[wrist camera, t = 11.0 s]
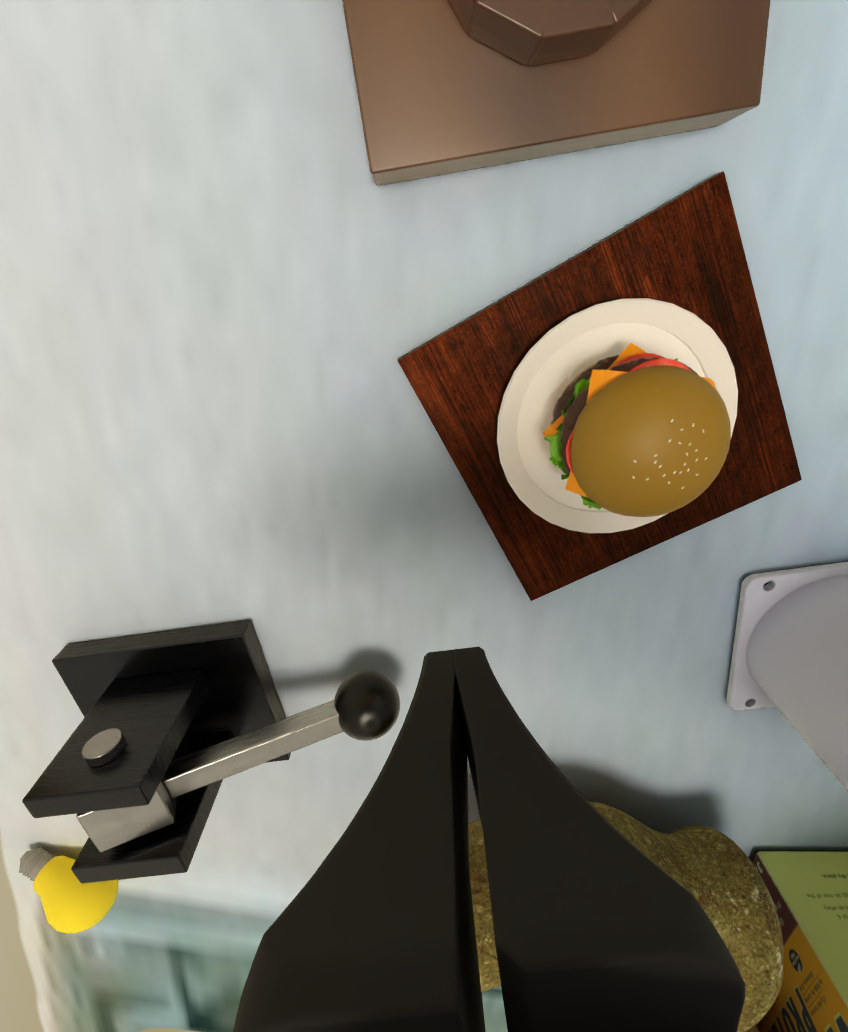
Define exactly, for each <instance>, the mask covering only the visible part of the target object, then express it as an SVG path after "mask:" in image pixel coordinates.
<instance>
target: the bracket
mask: <svg viewBox="0 0 848 1032" xmlns="http://www.w3.org/2000/svg"><path fill="white" fill-rule="evenodd" d="M52 662H53V664H54V665H55V667H56V669H57V671H58V672H59V674H60V676H61V677H62V679H63V681H64V683H65V684H66V686H67V688H68V689H69V691H70V693H71V695H72V696H73V698H74V700H75V701H76V703H77V705H78V707H79V708H80V710H81V712H82V714H83V715H84V717H85V718H84V719H83V721H82V722H81V723H80V725H79V726H78V727H77V729H76V730H75V731H74V733H73V734H72V735H71V737H70V738H69V739H68V740H67V742H66V743H65V744H64V746H63V747H62V748H61V750H60V751H59V752H58V754H57V755H56V756H55V758H54V759H53V760H52V762H51V763H50V764H49V766H48V767H47V768H46V770H45V771H44V772H43V774H42V775H41V776H40V778H39V779H38V780H37V782H36V783H35V784H34V785H33V787H32V788H31V789H30V791H29V792H28V793H27V795H26V796H25V797H24V799H23V801H22V802H23V803H24V805H25V806H26V808H27V809H28V810H29V812H30V813H31V815H32V816H33V817H34V818H41V817H49V816H58V815H67V814H75V813H84V812H93V811H101V810H110V809H118V808H127V807H136V806H144V805H148V804H149V803H150V801H151V800H152V798H153V796H154V794H155V792H156V790H157V788H158V786H159V784H160V782H161V780H162V778H163V776H164V774H165V772H166V770H167V768H168V766H169V764H170V762H171V761H173V760H175V759H178V758H181V757H183V756H186V755H189V754H191V753H194V752H197V751H199V750H202V749H205V748H207V747H210V746H213V745H215V744H218V743H221V742H223V741H226V740H229V739H231V738H234V737H237V736H239V735H242V734H245V733H247V732H250V731H253V730H255V729H258V728H261V727H263V726H266V725H269V724H271V723H274V722H277V721H279V720H282V719H285V715H284V712H283V709H282V707H281V704H280V701H279V698H278V696H277V693H276V690H275V687H274V684H273V682H272V679H271V676H270V673H269V670H268V668H267V665H266V662H265V659H264V656H263V654H262V651H261V648H260V645H259V642H258V640H257V637H256V634H255V631H254V629H253V626H252V623H251V620H245V621H237V622H230V623H222V624H215V625H208V626H200V627H193V628H185V629H178V630H170V631H163V632H155V633H148V634H140V635H133V636H125V637H118V638H110V639H103V640H95V641H88V642H80V643H73V644H67V645H66V646H65V647H64V648H63V649H62V650H61V652H60V653H59V654H58V655H57V656H56V657H55V658H54V659H53V660H52ZM290 754H291V752H290V753H287V754H285V755H282V756H280V757H277V758H275V759H272V760H270V761H267V762H273V761H282V760H289V757H290ZM264 763H265V762H264ZM222 780H223V779H221V780H219V781H216V782H214V783H211V784H208V785H206V786H203V787H201V788H198V789H196V790H193V791H191V792H188V793H186V794H183V795H181V796H178V797H177V803H176V814H175V822H174V823H173V824H170V825H168V826H166V827H163V828H161V829H158V830H156V831H153V832H151V833H148V834H146V835H143V836H141V837H138V838H136V839H133V840H131V841H128V842H126V843H124V844H121V845H119V846H116V847H114V848H111V849H109V850H106V851H104V852H99V851H98V849H97V848H96V846H95V845H94V843H93V842H92V840H91V839H90V837H89V838H88V840H87V842H86V843H85V845H84V847H83V849H82V850H81V852H80V854H79V855H78V857H77V859H76V861H75V862H74V864H73V866H72V867H71V870H72V872H73V873H74V875H75V876H76V877H77V879H78V880H79V882H80V883H82V884H83V883H92V882H101V881H110V880H120V879H129V878H138V877H147V876H156V875H166V874H175V873H184V872H187V870H188V868H189V865H190V863H191V860H192V858H193V855H194V852H195V850H196V847H197V845H198V842H199V839H200V837H201V834H202V832H203V829H204V827H205V824H206V821H207V819H208V816H209V814H210V811H211V808H212V806H213V803H214V801H215V798H216V796H217V793H218V790H219V788H220V785H221V783H222Z"/></svg>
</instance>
